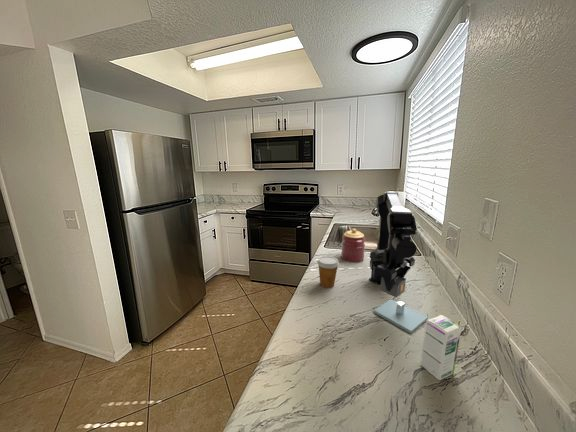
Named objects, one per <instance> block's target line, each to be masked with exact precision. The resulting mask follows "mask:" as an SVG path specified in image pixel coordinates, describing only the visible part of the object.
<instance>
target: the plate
mask: <svg viewBox="0 0 576 432" xmlns="http://www.w3.org/2000/svg"><path fill="white" fill-rule="evenodd" d="M397 302H398V301H396V300H395V299H389V300H388V301H386V302H384V303H383V304H381V305H379V306H378V307H376V308H374V309H373V313H374V314H375V315H378V316H379V317H381V318H383V319H384V320H386V321H388V322H390V323H392V324H393V325H395V326H397V327H398V328H400V329H401V330H404V331H406V332H408V333H409V334H412V333H414V332H415V331H416V330H417V329H418V328H419V327H421V326H422V325H423V324H424V323H425V322H426V320H428V319H429V317H428V316H427V315H425V314H423V313H421V312H419V311H417V310H415V309H413V308H410V307H409V306H406V305H405V308H404V313H403V314H402V315H398V314H396V306H397Z"/></svg>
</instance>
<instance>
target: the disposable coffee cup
mask: <svg viewBox="0 0 576 432" xmlns="http://www.w3.org/2000/svg"><path fill="white" fill-rule="evenodd" d="M316 263H317V266H318V273H319V284H320V286H321V287H323V288H327V289H329V288H333V287H334V286H335V283H336V277H337V270H338V266H339V264H340V262H339V259H338V258H336V257H333V256H331V255H330V256H329V255H328V256H327V255H324V256H320V257H319V258H318V259H317V262H316Z"/></svg>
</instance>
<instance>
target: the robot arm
mask: <svg viewBox="0 0 576 432" xmlns="http://www.w3.org/2000/svg"><path fill="white" fill-rule="evenodd" d="M375 208H376V212H377V214H378V216H379V224H378V234H377V246H376V248H375V250H372V251H370V253H369V259H370V261H369V268H370V270H371V271H370V273H371V274H370V275H371V276H370V278H368V280H369V281H371V282H373V283H375V284H378V285H380V286H381V278H383V279H384V282H385V286H386V290H387V291H390V290H391V289H392V287H393V285H394V283H395V281H396V280H397V278H398V276H400V277H403V278H406V277H405V276H406V275H407V274H408V273H409V271H410V270H411V269H412V267H413V266H414V265H415V263H416V262H415V261H416V259H415V258H414V255H416V253H417V246H416V244H415V243H414V241H413V240H412V239H411V238H412V237H411V235H412V236H413V235H416V231H417V229H418V227H417V223H416V218H415V215H414V214H413V212H412V211H411V210H410V209H409V208H406V207H404V206H403V204H402V202H401V200H400V198H399V193H398V192H396V191H386V192H384V193H383V194H380V195H378V196H377V198H376V200H375ZM396 275H397V276H396Z"/></svg>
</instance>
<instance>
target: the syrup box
mask: <svg viewBox="0 0 576 432" xmlns="http://www.w3.org/2000/svg"><path fill="white" fill-rule="evenodd" d="M425 322H426V323H425V328H424V336H423V341H422V343H423V344H422V351H421V358H420V365H421V366H422V368H424V369H425V370H426V371H427V372H428V373H430V374H431V375H432V376H433V377H434V378H436V380H438V381H439V382H440V381H442V380H444V379H445V378H447V377H450V376H451V375H454V373H455V369H456V363H457V362H456V361H457V356H458V350H459V344H460V337H461V333H462V326H461V325H460V324H458V323H456V322H455V321H453V320H452V319H450V318H449V317H446V316H445V315H442V314H439V315H438V316H433V317H431V318H428V320H426V321H425Z"/></svg>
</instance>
